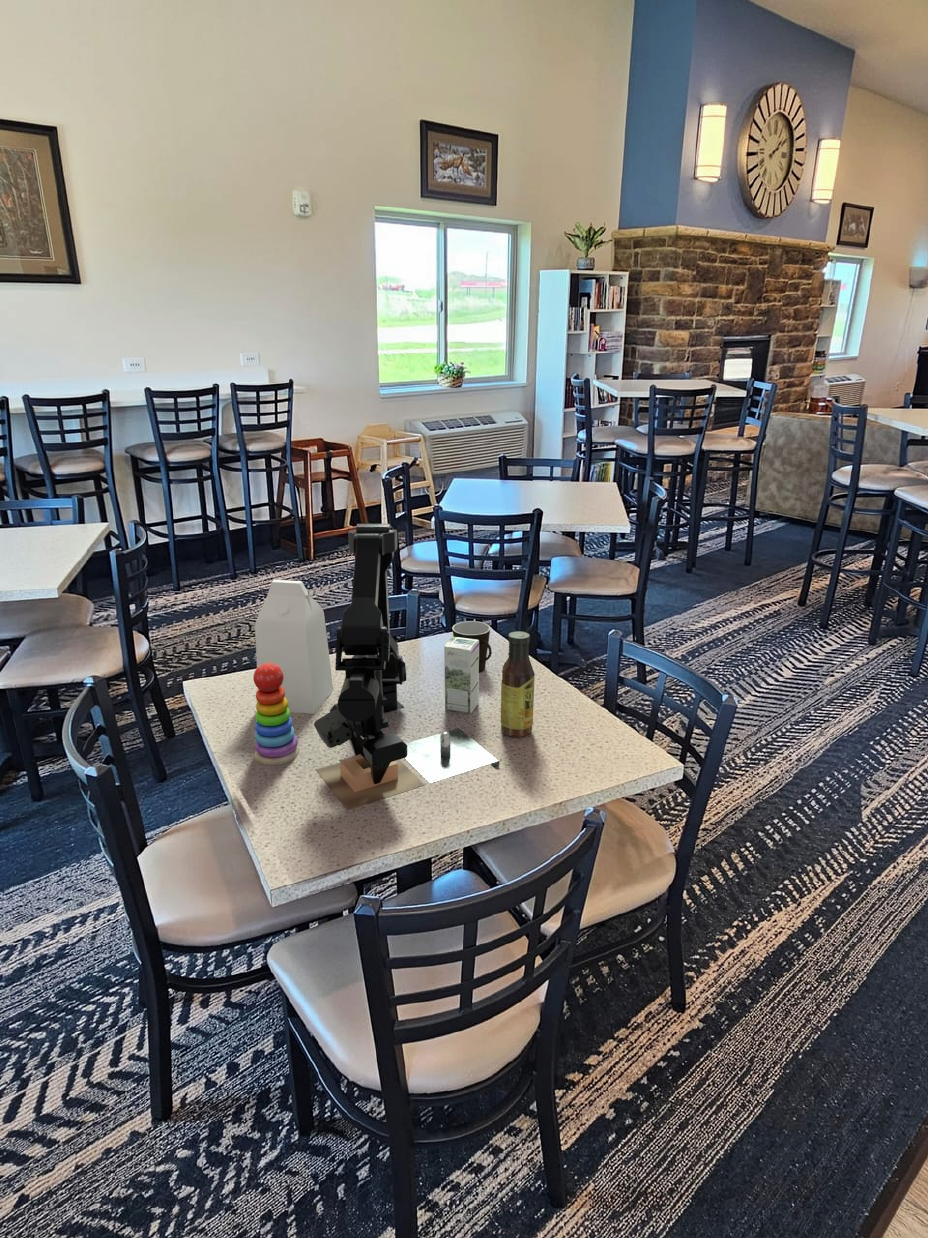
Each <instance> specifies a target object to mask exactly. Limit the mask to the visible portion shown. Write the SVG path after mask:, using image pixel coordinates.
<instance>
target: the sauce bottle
mask: <svg viewBox="0 0 928 1238" xmlns="http://www.w3.org/2000/svg"><path fill="white" fill-rule="evenodd" d="M507 639H508V640H507V641H508V653H507V654H508V658H507V659H506V661H504V664H503V666H502V669H501V674H502V675H501V683H500V685H501V687H500V688H501V689H500V691H501V693H500V694H501V695H500V724H501V725H500V729H501V731H502V733H503V734H505V735H506V736H509V737H515V738H521V737H522V738H523V737H525V736H528V735H529V734H530V733H531V732H532V730H533V724H534V706H535V705H534V704H535V703H534V701H535V700H534V699H535V670H534V669H533V666H532V662H531V660H530V653H529V649H530V642H531V635H530V634H529V633H528V632H525V631H512V632H509V633H508V636H507Z"/></svg>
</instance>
